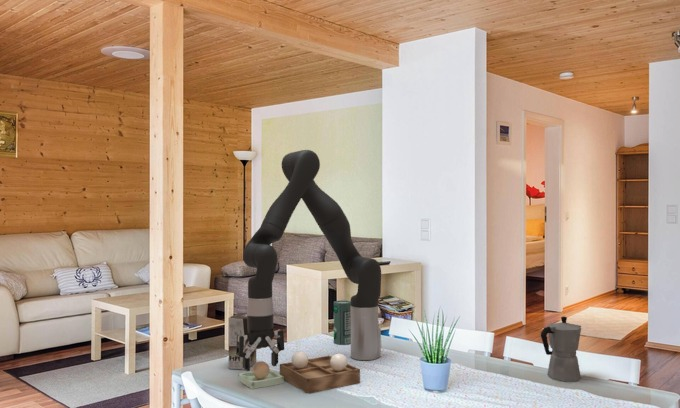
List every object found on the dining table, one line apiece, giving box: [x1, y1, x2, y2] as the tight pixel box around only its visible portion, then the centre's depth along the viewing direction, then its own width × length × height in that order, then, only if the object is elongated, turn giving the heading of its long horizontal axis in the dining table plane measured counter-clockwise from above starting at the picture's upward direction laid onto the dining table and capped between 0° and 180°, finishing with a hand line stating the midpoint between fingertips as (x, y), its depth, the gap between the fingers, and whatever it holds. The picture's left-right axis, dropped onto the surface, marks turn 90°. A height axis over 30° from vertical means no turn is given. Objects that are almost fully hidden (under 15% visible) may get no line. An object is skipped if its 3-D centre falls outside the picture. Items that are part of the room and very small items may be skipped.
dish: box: [237, 368, 285, 390], centre depth 173 cm, size 10×10×2 cm
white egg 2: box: [330, 353, 348, 371], centre depth 173 cm, size 5×5×5 cm
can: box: [333, 299, 351, 346], centre depth 218 cm, size 6×6×15 cm
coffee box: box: [227, 312, 257, 371], centre depth 190 cm, size 9×6×16 cm
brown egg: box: [252, 360, 271, 379], centre depth 173 cm, size 5×5×5 cm
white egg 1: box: [290, 351, 309, 369], centre depth 176 cm, size 5×5×5 cm
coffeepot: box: [540, 315, 582, 383], centre depth 176 cm, size 15×9×18 cm, turn 116°
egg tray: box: [279, 355, 361, 394], centre depth 175 cm, size 17×17×4 cm
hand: (260, 368), depth 173 cm, fingers open, 8 cm apart
